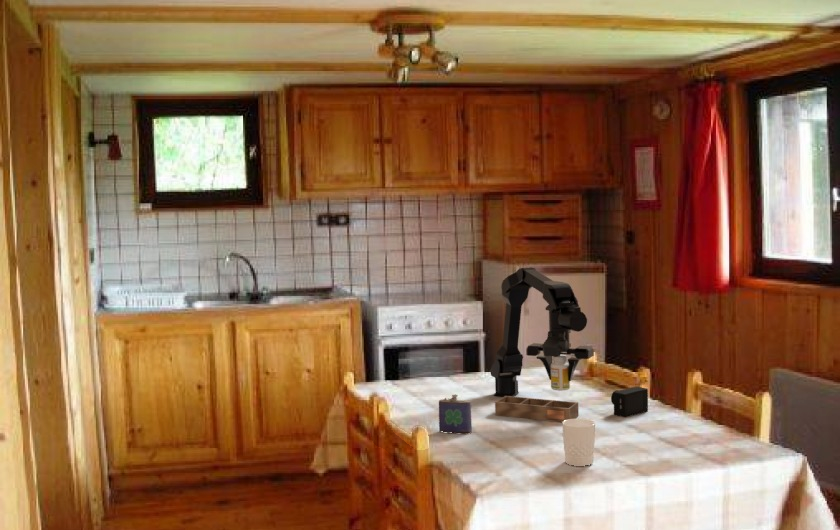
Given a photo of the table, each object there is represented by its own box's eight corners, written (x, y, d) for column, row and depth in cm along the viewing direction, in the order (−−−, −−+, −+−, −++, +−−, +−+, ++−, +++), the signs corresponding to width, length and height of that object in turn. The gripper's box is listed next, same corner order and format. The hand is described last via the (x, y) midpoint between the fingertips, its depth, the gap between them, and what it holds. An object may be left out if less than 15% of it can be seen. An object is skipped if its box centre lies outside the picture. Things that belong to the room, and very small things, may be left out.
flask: (472, 431, 248) (471, 393, 247) (470, 434, 245) (469, 396, 244) (440, 430, 251) (439, 392, 250) (437, 433, 248) (436, 395, 247)
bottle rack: (494, 415, 265) (494, 402, 264) (505, 408, 272) (505, 395, 272) (569, 422, 254) (568, 409, 254) (578, 415, 261) (578, 402, 261)
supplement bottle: (569, 386, 261) (568, 353, 261) (570, 390, 256) (569, 357, 255) (550, 386, 262) (550, 354, 261) (551, 390, 257) (550, 357, 256)
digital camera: (633, 408, 268) (633, 385, 268) (648, 411, 264) (648, 388, 264) (610, 414, 262) (610, 390, 262) (625, 417, 258) (624, 394, 257)
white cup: (559, 458, 221) (558, 419, 221) (590, 457, 222) (590, 417, 221) (567, 468, 214) (566, 427, 213) (599, 466, 214) (599, 426, 213)
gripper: (518, 329, 255) (519, 383, 256) (581, 332, 246) (582, 388, 247) (532, 324, 265) (533, 376, 266) (593, 326, 256) (594, 380, 257)
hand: (560, 380), depth 259 cm, fingers closed on supplement bottle, 5 cm apart
